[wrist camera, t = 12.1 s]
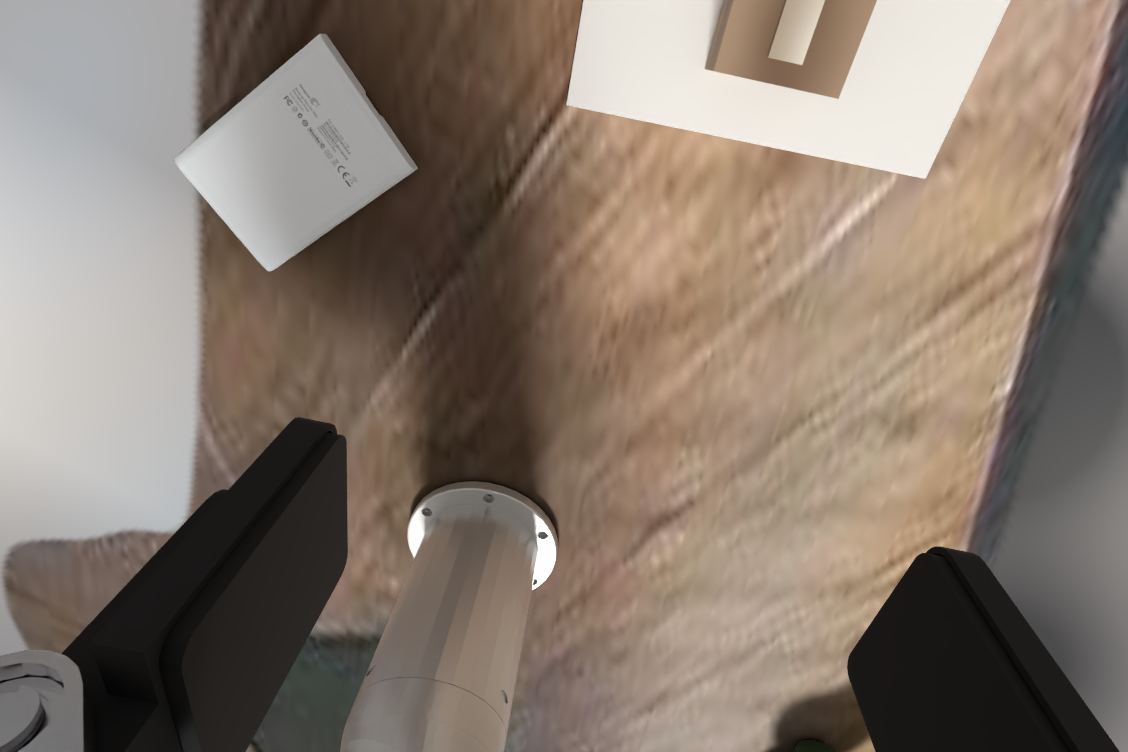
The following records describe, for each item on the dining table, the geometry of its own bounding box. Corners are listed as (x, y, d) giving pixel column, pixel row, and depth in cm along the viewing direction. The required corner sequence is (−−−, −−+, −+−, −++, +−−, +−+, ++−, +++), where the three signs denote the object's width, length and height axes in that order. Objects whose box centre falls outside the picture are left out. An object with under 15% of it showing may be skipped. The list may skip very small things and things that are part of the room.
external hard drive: (188, 155, 36) (330, 33, 32) (281, 265, 39) (421, 167, 35) (170, 159, 35) (316, 32, 30) (268, 273, 38) (413, 172, 33)
